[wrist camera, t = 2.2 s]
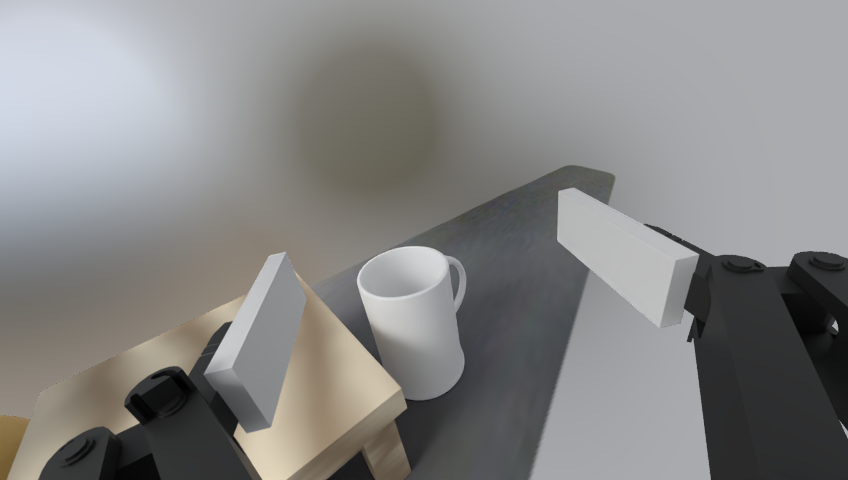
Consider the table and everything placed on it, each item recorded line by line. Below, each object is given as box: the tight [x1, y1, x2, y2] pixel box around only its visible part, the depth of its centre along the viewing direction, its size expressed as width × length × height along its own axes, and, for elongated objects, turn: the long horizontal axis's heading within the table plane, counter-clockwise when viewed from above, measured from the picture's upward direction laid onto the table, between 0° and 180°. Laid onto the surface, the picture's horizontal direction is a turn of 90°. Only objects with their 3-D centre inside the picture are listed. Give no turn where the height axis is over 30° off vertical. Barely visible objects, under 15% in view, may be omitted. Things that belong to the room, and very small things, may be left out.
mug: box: [357, 246, 466, 400], centre depth 31 cm, size 12×8×12 cm
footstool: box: [7, 272, 411, 480], centre depth 24 cm, size 20×20×10 cm
